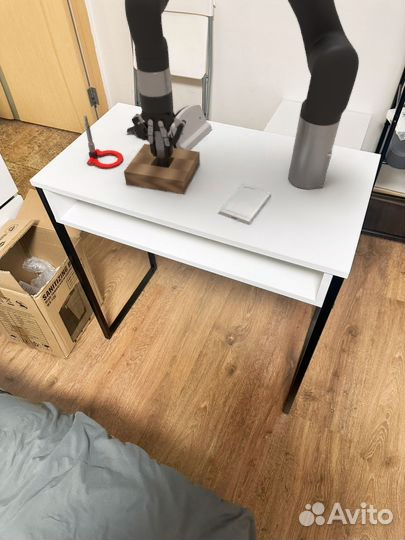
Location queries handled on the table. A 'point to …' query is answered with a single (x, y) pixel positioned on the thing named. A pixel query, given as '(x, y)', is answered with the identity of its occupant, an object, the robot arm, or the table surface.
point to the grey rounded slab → (191, 127)
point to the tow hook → (100, 152)
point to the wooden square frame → (163, 170)
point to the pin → (160, 150)
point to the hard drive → (245, 204)
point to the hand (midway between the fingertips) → (162, 155)
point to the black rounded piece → (133, 129)
